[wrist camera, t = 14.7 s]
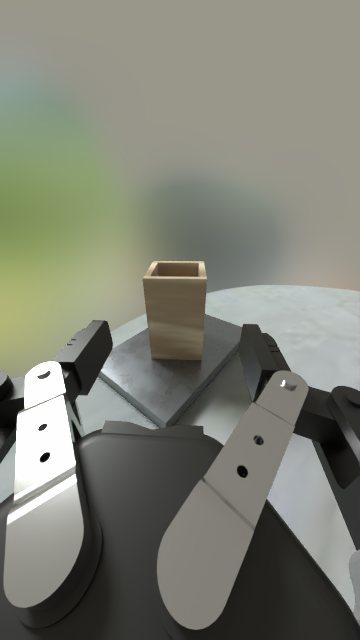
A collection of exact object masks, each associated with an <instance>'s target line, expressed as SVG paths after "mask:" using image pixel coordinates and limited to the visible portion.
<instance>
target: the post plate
mask: <svg viewBox="0 0 360 640" xmlns="http://www.w3.org/2000/svg"><path fill="white" fill-rule="evenodd" d="M241 332H242V327H240V326H237V325H234V324H231V323H228V322H226V321H223V320H220V319H217V318H215V317H212V316H209V315H206V314H205V316H204V332H203V347H202V360H178V359H151V350H150V341H149V332H148V328H147V329H145V330H144V331H142V332H140V333H139V334H137V335H135V336H134V337H132V338H130V339H128V340H127V341H125V342H123V343H122V344H120V345H118V346H117V347H115V348H113V349H112V351H111V353H110V355H109V356H108V358H107V360H106V362H105V364H104V366H103V367H102V369H101V371H100V373H99V375H98V376H99V377H100V378H101V379H103V380H104V381H105V382H106V383H107V384H109V385H110V386H111V387H112V388H113V389H115V390H116V391H117V392H118V393H119V394H121V395H122V396H123V397H124V398H125V399H126V400H128V401H129V402H130V403H131V404H132V405H134V406H135V407H136V408H137V409H138V410H140V411H141V412H142V413H143V414H144V415H145V416H147V417H148V418H149V419H150V420H151V421H153V422H154V423H155V424H156V425H157V426H159V427H160V428H165V427H170V426H173V425H174V424H175V423H176V421H177V420H178V419H179V418H180V417H181V416H182V414H183V413H184V412H185V411H186V410H187V409H188V407H189V406H190V405H191V404H192V403H193V402H194V400H195V399H196V398H197V397H198V396H199V395H200V393H201V392H202V391H203V390H204V389H205V388H206V386H207V385H208V384H209V383H210V382H211V381H212V379H213V378H214V377H215V376H216V375H217V374H218V372H219V371H220V370H221V369H222V368H223V366H224V365H225V364H226V363H227V362H228V361H229V359H230V358H231V357H232V356H233V355H234V354H235V352H236V351H237V350H238V349H239V343H240V338H241Z"/></svg>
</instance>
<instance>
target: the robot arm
mask: <svg viewBox="0 0 360 640" xmlns="http://www.w3.org/2000/svg"><path fill="white" fill-rule="evenodd" d="M112 347H113V342H112V337H111V333H110V330H109V325H108V322H107V321H99V320H98V321H97V320H93V321H92V322H91V323H90V324H89V325H88V327H87V328H84V329H82V330H81V331H79V332H78V333H76V334H75V335H74V337H73V338H72V339H71V340H70V341H69V342H68V343H67V345H66V346H65V347H64V348H63V349H62V350H61V352H60V353H59V354H58V355H57V356H56V357H55V359H54V360H53V361H52V362H47V363H43V364H40V365H38V366H36V367H35V368H33V369H32V370H31V371H29V373H28V374H27V375H26V376H22V377H16V378H11V379H10V378H9V376H8V375H7V374H6V373H5V372H3V371H0V463H1V462H2V460H3V459H4V457H5V456H6V454H7V453H8V451H9V450H10V448H11V447H12V445H13V444H14V443H15V441H16V440H17V443H16V467H15V490H14V493H13V494H11V495H10V496H9V497H8V498H7V499H5V500H4V501H3V502H2V503H0V640H360V391H358V390H356V389H353V388H350V387H346V386H337V387H335V388H334V389H333V390H332V392H331V393H330V392H326V391H323V390H319V389H315V388H312V387H309V386H308V385H307V383H306V382H305V380H304V379H303V378H302V377H300V376H299V375H297V374H295V373H293V372H291V370H290V368H289V366H288V364H287V362H286V361H285V359H284V357H283V355H282V353H281V352H280V349H279V348H278V347H277V344H276V342H275V340H274V339H273V338H272V337H271V336H270V335H268V334H267V333H262V332H261V330H260V328H259V326H258V325H257V324H243V327H242V332H241V338H240V343H239V356H240V360H241V363H242V367H243V371H244V375H245V378H246V382H247V386H248V390H249V393H250V397H251V401H252V404H251V405H250V406H249V408H248V409H247V411H246V413H245V414H244V416H243V417H242V419H241V420H240V422H239V423H238V425H237V426H236V428H235V430H234V431H233V433H232V434H231V436H230V437H229V439H228V440H227V442H226V444H225V445H223V444H221V443H220V442H219V441H217V440H215V439H214V438H212V437H210V436H207V435H204V434H203V426H191V425H175V426H170V427H165V428H160V429H155V430H151V429H148V428H145V427H142V426H139V425H137V424H134V423H131V422H121V421H105V424H104V426H103V429H100V430H96V431H94V432H91V433H89V434H87V435H85V433H84V429H83V425H82V421H81V417H80V413H79V409H78V405H77V402H76V398H77V396H78V395H88V393H89V391H90V389H91V388H92V386H93V384H94V382H95V380H96V378H97V377H98V375H99V373H100V371H101V369H102V367H103V366H104V364H105V362H106V360H107V358H108V356H109V355H110V353H111V351H112ZM292 433H295V434H298V435H300V436H303V437H306V438H309V439H311V440H312V442H313V445H314V447H315V450H316V452H317V455H318V457H319V460H320V462H321V464H322V467H323V469H324V472H325V474H326V477H327V479H328V481H329V484H330V486H331V489H332V491H333V494H334V496H335V499H336V501H337V503H338V506H339V508H340V511H341V513H342V516H343V518H344V520H345V523H346V525H347V528H348V530H349V533H350V535H351V538H352V540H353V542H354V545H355V547H356V550H357V551H356V552H354V553H353V554H352V556H351V558H350V562H349V571H350V577H351V580H352V584H353V588H354V593H355V608H354V612H353V613H352V611H351V609H350V608H349V606H348V605H347V603H346V601H345V600H344V598H343V597H342V596H341V594H340V593H339V591H338V590H337V589H336V587H335V586H334V585H333V583H332V582H331V581H330V580H329V578H328V577H327V576H326V574H325V573H324V572H323V571H322V569H321V568H320V567H319V565H318V564H317V563H316V562H315V560H314V559H313V558H312V556H311V555H310V554H309V553H308V551H307V550H306V549H305V547H304V546H303V545H302V544H301V542H300V541H299V540H298V538H297V537H296V536H295V535H294V533H293V532H292V531H291V529H290V528H289V527H288V525H287V524H286V523H285V522H284V520H283V519H282V518H281V516H280V515H279V514H278V513H277V511H276V510H275V509H274V507H273V506H272V505H271V504H270V502H269V501H268V500H267V496H268V494H269V491H270V489H271V486H272V484H273V481H274V479H275V476H276V474H277V471H278V468H279V466H280V463H281V461H282V458H283V456H284V453H285V451H286V448H287V446H288V443H289V441H290V438H291V436H292Z"/></svg>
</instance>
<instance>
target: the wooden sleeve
mask: <svg viewBox="0 0 360 640" xmlns="http://www.w3.org/2000/svg"><path fill="white" fill-rule="evenodd" d="M206 285H207V278H206V271H205V266H204V262H191V261H188V262H187V261H186V262H183V261H181V262H179V261H154V262H153V263H152V264H151V266H150V268H149V269H148V271H147V272H146V274H145V276H144V277H143V286H144V295H145V304H146V313H147V323H148V332H149V341H150V350H151V359H178V360H202V347H203V332H204V316H205V301H206Z"/></svg>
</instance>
